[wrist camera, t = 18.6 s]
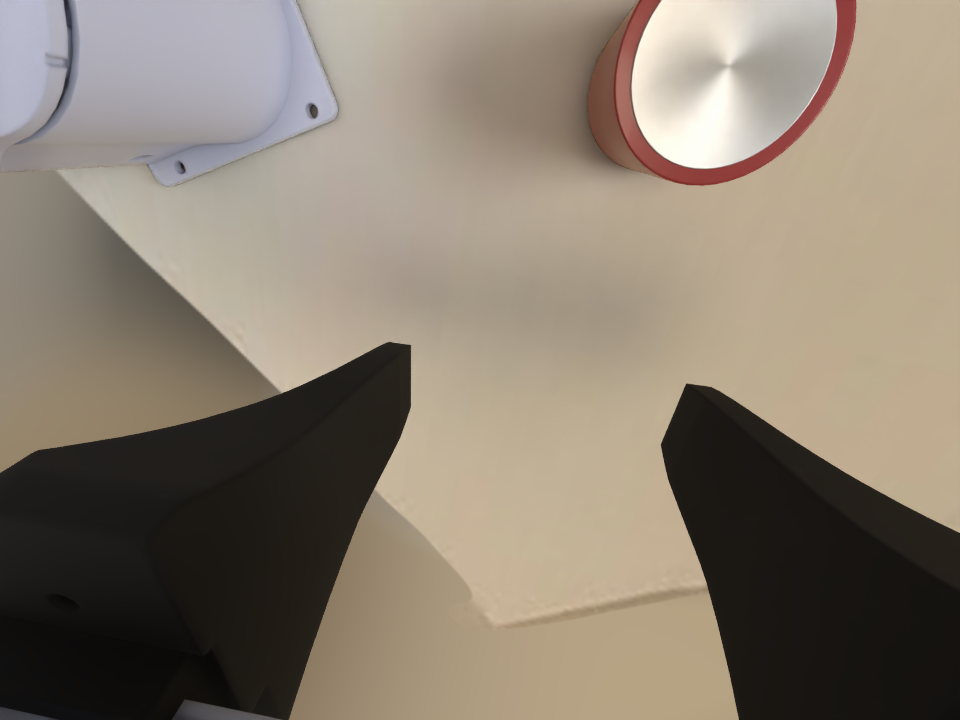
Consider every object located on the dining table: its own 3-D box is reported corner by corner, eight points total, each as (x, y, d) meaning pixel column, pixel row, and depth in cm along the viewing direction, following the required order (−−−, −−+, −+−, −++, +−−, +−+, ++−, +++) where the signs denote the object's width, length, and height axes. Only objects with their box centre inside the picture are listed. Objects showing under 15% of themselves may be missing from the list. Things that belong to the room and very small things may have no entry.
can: (599, 188, 16) (628, 210, 11) (575, 36, 14) (598, -25, 9) (738, 145, 15) (846, 148, 10) (736, -28, 13) (875, -146, 8)
